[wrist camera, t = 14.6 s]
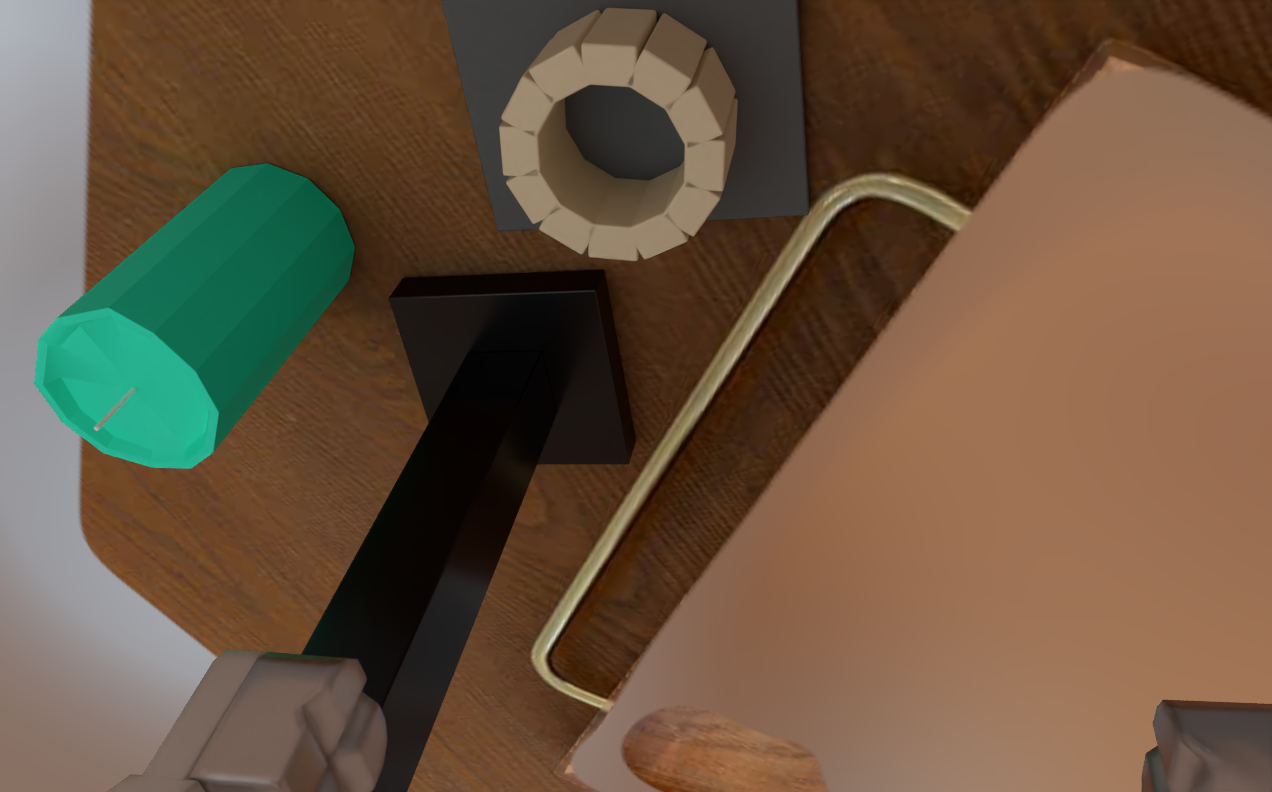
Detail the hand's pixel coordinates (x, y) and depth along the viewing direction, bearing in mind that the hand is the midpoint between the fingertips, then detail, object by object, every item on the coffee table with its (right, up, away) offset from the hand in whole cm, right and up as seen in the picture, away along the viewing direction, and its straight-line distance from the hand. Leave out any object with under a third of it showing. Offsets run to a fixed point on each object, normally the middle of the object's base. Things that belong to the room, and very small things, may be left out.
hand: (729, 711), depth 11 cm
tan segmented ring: (-1, +12, +23) cm, 26 cm away
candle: (-14, +9, +29) cm, 34 cm away
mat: (-1, +14, +23) cm, 27 cm away
